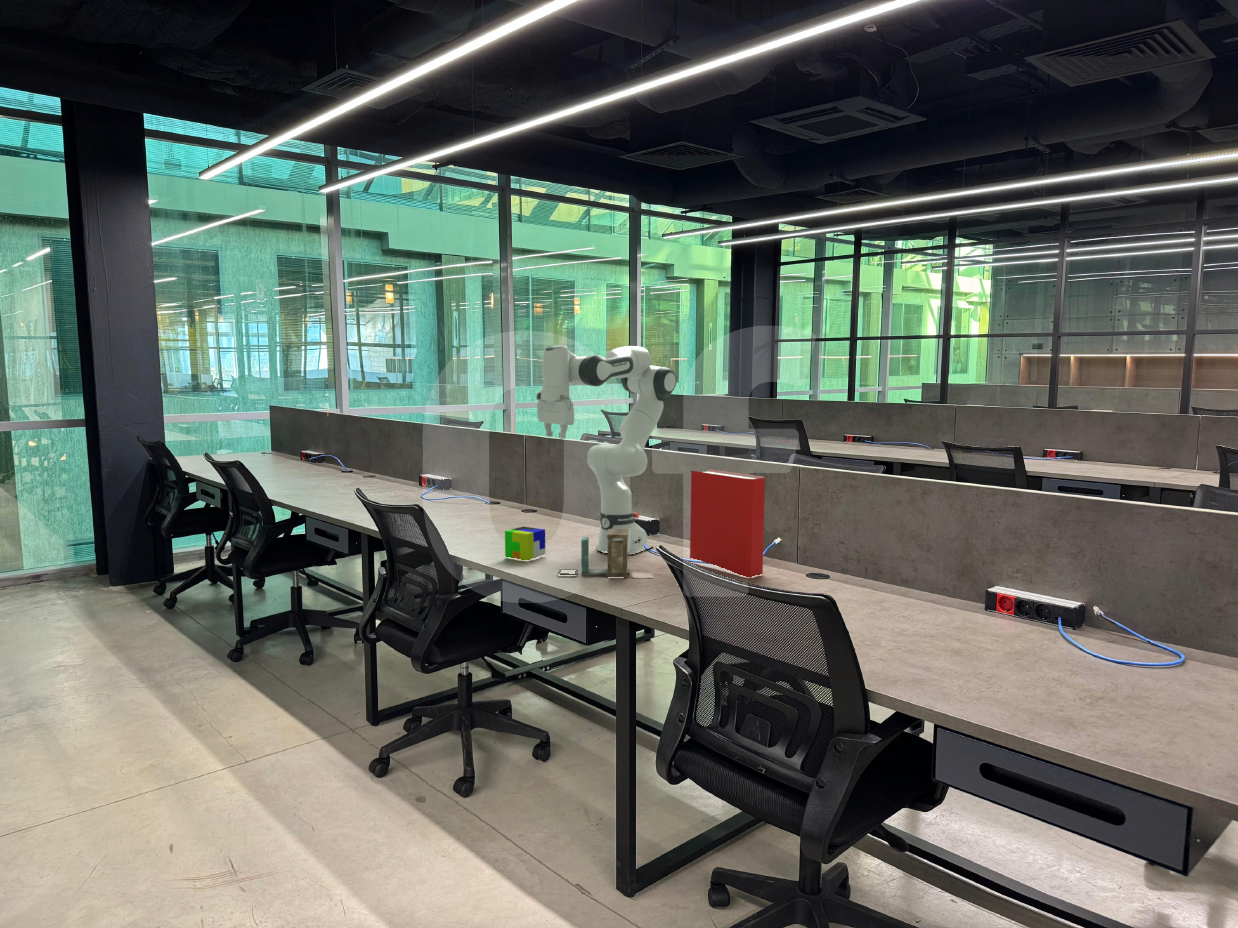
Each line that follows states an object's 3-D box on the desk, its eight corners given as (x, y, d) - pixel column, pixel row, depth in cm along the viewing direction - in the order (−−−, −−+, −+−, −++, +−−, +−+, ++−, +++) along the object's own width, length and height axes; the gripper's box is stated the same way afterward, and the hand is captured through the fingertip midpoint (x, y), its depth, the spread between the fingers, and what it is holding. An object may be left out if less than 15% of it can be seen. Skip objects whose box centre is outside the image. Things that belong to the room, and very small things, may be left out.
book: (689, 562, 273) (691, 470, 269) (706, 559, 278) (708, 468, 274) (748, 579, 251) (750, 479, 248) (765, 575, 256) (767, 477, 252)
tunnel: (606, 578, 251) (607, 534, 249) (608, 571, 260) (608, 528, 258) (627, 578, 251) (627, 534, 249) (627, 571, 260) (628, 529, 258)
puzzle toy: (545, 557, 280) (545, 529, 279) (527, 562, 272) (527, 534, 271) (523, 553, 286) (523, 526, 285) (505, 559, 277) (504, 530, 276)
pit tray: (557, 576, 253) (557, 573, 253) (559, 572, 259) (559, 569, 259) (576, 577, 253) (576, 573, 253) (577, 572, 259) (577, 569, 259)
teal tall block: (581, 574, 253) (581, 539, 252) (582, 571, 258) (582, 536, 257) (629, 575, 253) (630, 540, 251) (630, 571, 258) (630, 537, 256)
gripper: (579, 396, 251) (579, 439, 253) (550, 394, 269) (550, 435, 270) (561, 396, 248) (561, 440, 250) (533, 394, 266) (533, 435, 267)
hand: (555, 437), depth 260 cm, fingers open, 8 cm apart
